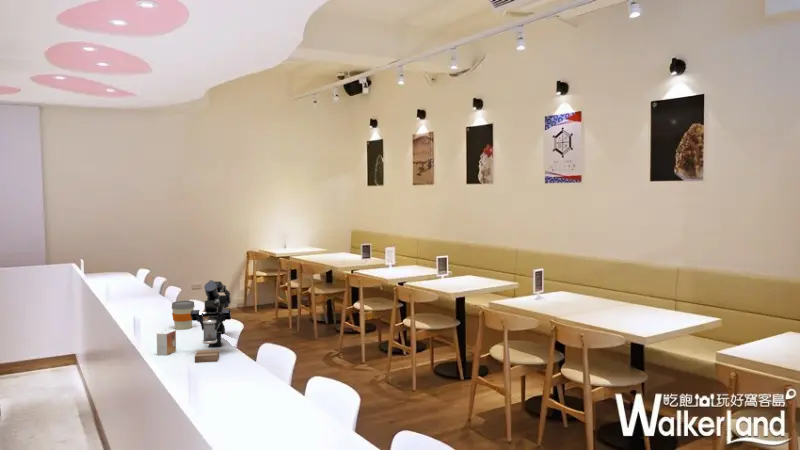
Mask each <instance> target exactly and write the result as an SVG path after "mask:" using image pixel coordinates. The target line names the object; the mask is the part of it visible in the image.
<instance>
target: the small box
mask: <svg viewBox="0 0 800 450" xmlns="http://www.w3.org/2000/svg"><path fill="white" fill-rule="evenodd" d="M176 332H177V330H176V329H175V330H172V329H166V330H163V331H160V332H157V333H156V355H157V354H160V355H162V356H168V355H170V354H172V353H175V352H177V336H176V335H177V333H176Z"/></svg>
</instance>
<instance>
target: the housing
mask: <svg viewBox="0 0 800 450" xmlns="http://www.w3.org/2000/svg"><path fill="white" fill-rule="evenodd" d="M216 322H217V319H208V318H205V319H204V318H203V330H202V331H203V332H202V333H203V340H202V344H204V345H209V344H213V343H217V337H216Z"/></svg>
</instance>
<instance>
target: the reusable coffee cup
mask: <svg viewBox="0 0 800 450" xmlns="http://www.w3.org/2000/svg"><path fill="white" fill-rule="evenodd" d="M171 309H172V312H171V315H172V319H173V322H174V328H175V330H176V331H177V330H178V331H181V330H182V331H184V330H190V329H192V326H193V320H192V318H191V311H192V310H195V301H193V300H179V301H177V300H176V301H174V302H172V303H171Z"/></svg>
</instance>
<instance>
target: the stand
mask: <svg viewBox="0 0 800 450" xmlns="http://www.w3.org/2000/svg"><path fill="white" fill-rule="evenodd" d="M219 358H220V349H205V350H204V349H203V350H200V349H199V350H197V351H196V353H195V355H194V363H209V362H210V363H211V362H213V363H214V362H218V360H219Z"/></svg>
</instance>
